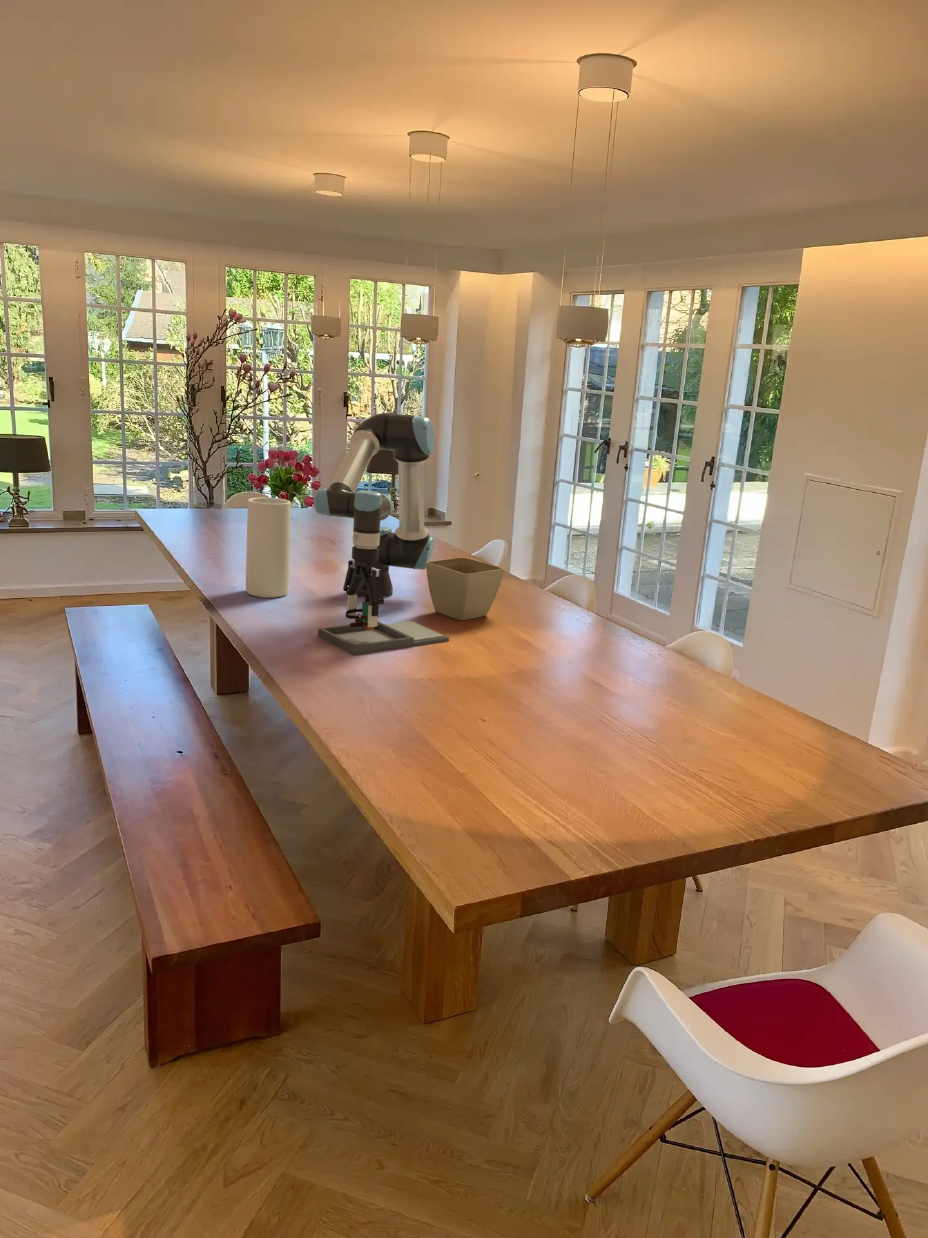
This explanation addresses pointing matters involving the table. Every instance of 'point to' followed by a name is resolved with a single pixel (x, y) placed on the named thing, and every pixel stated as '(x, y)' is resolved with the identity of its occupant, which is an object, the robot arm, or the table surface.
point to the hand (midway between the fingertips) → (361, 621)
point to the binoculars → (364, 617)
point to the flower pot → (463, 586)
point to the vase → (268, 547)
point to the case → (379, 637)
